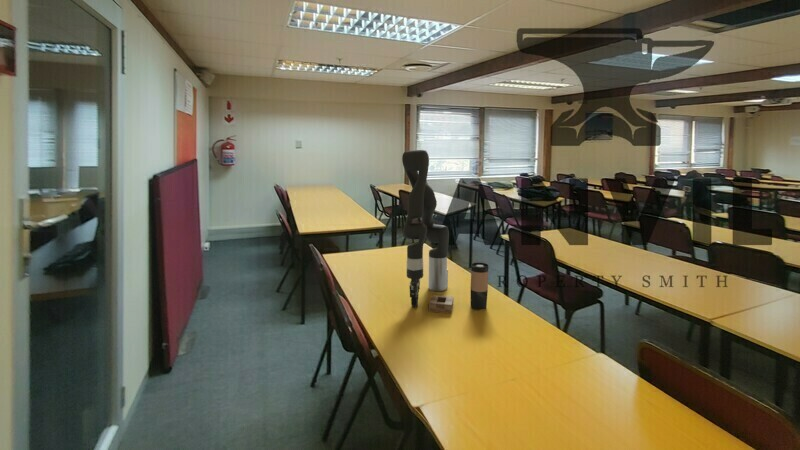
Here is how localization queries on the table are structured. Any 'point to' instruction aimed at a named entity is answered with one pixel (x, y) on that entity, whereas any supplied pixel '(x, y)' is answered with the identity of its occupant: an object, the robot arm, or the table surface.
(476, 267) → the travel mug
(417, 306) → the pin
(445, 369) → the table surface
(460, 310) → the table surface
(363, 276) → the table surface
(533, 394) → the table surface
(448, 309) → the slot block
